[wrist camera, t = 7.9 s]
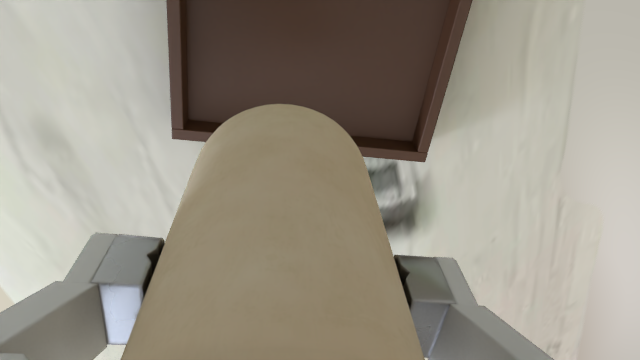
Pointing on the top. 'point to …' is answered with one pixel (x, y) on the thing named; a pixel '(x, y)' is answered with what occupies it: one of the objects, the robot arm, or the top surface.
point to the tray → (316, 65)
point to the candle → (276, 252)
